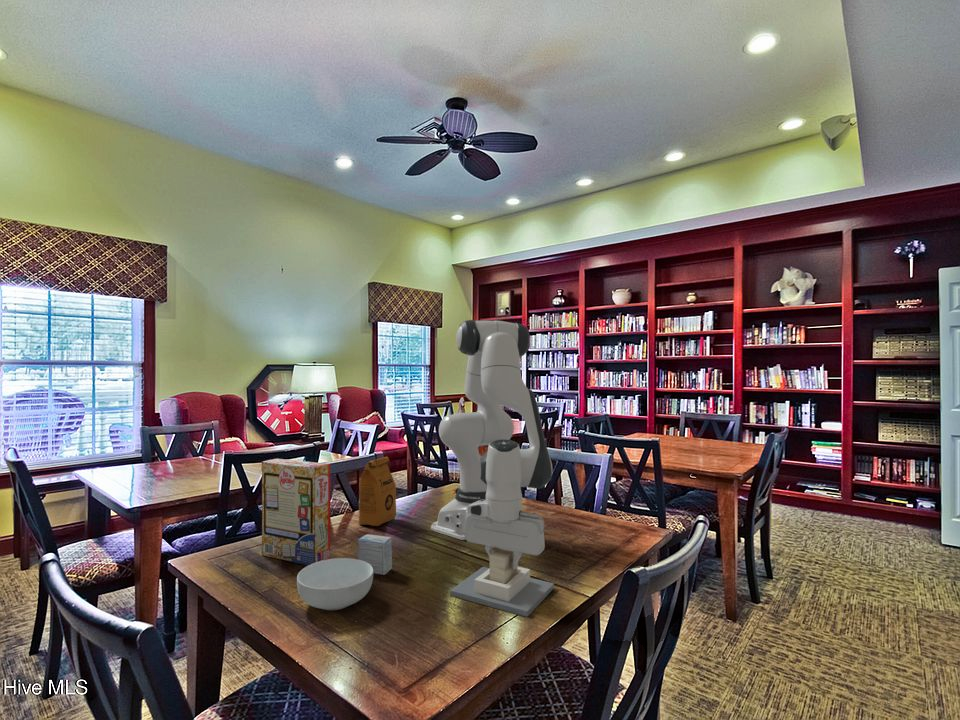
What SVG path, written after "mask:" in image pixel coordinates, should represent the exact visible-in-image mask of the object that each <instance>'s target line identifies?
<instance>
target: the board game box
mask: <svg viewBox="0 0 960 720" xmlns="http://www.w3.org/2000/svg"><path fill="white" fill-rule="evenodd" d="M261 556H263V557H264V556H265V557H270V558H274V559H278V560H282V561H288V562H292V563H295V564H296V563H297V564H301V565H306V566H309V565H311V564H313V563H316V562H319V561H323V560H328V559H331V463H324V462H323V463H322V462H314V461H313V462H312V461H304V460H296V459H295V460H293V459H286V458H285V459H283V458H273V459H267V460H263V461H261Z"/></svg>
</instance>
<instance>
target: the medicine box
mask: <svg viewBox="0 0 960 720" xmlns="http://www.w3.org/2000/svg"><path fill="white" fill-rule="evenodd" d="M392 540H393V539H392V537H391V536H386V535H385V536H384V535H379V534H378V535H377V534H369V533H368V534H365V535H363V536H360V538H358V540H357V542H358V545H357V546H358V547H357V548H358V549H357V553H358V554H357V557H358V558H357V559H358V560H362V561H365V562H367V563H369V564H370V565H371V566H372V568H373V575H374V574H375V575H382V576H384V575H386V574H388V573H389V572H390V571H391V570H393V554H392V553H393V552H392V551H393V550H392V549H393V545H392V542H393V541H392Z"/></svg>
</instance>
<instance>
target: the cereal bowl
mask: <svg viewBox="0 0 960 720" xmlns="http://www.w3.org/2000/svg"><path fill="white" fill-rule="evenodd" d="M373 581H374V573H373V568H372V566H371V565H370V564H369V563H367V562H365V561H362V560H358V558H350V557H339V558H330V559H328V560H323V561H319V562H316V563H313V564H311V565H306V566H305V567H304V568H302V569H301V570H300V571H299V572H298V573H297V576H296V588H297V592H298V596H299V597H300V598H301V600H302V601H303V603H305V604H306V605H308V606H311V607H313V608H317V609H320V610H321V609H322V610H326V611H337V610H338V611H339V610H343V609H345V608H347V607H349V606H351V605H353V604H357V603H358V602H359V601H360V600H362V599H364V597H366V596H367V594H368V593H369V591H370V590H371V587H372V584H373Z"/></svg>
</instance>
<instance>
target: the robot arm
mask: <svg viewBox="0 0 960 720" xmlns="http://www.w3.org/2000/svg"><path fill="white" fill-rule="evenodd" d="M455 337H456V339H455V340H456V341H455V342H456V345H457V348H458V350H459V351H460V352H461V354H463V355H466V356H468V358H467V364H466V369H465V381H464V389H463V390H464V394H465V396H466V398H467V399H468V400H469V401H471V403H472V402H473V403H475V404H476V405H477V411H475V412H474V411H472V412H457V413H452V414H448V415H445V416H444V417H443V418H442V419H441V420H440V423H439V426H438V434H439V438H440V440H441V442H442V443H443V445H445V446H446V447H447V448H449V450H451V451H452V452H453V455H454V456H455V457H456V460H457V463H458V469H459V470H458V471H459V486H458V487H456V489H453V490H452V495H454V494H455V496H454V498H453V499H452V500H451V501H449V502H448V503H447V504H445V505H444V506H443V507H441V508H440V510H439V512H438V516H437V521H434V522H433V523H432V524H431V525H430V530H431V531H433V532H435V533H439V534H441V535H445V536H449V537H452V538H454V539H458V540H461V541H467V542H469V543H471V544H472V543H473V544H477V545H483V546H485V547H484V550H485V552H486V554H487V556H488V557H489V558H490V555H491V554H492V553H493V552H495V551H494V549H493V548H497V549H499V548H501V549H506V550H511V551H514V555H515V556H516V557H515V558H514V559H512V560H511V561H510V568H511V569H517V568H518V567H519V560H520V558H521V557H522V556H523V554H526V555H531V556H539V555H541V553H543V551H544V550H545V547H546V545H545V542H546V541H545V534H544V531H545V521H544V519H543V518H542V517H541V516H540V515H539V514H538V513H535V512H534V513H533V512H529V511H523V494H522V489H521V488H530V489H532V488H533V489H539V490H540V489H542V488H544V487H545V486H546V485H547V484H549V482H550V481H551V480H552V477H553V463H552V460H551V457H550V454H549V451H548V447H547V443H546V442H547V441H546V439H545V434H544V430H543V425H542V420H541V415H540V411H539V407H538V403H537V400H536V395H535V393H534V392H533V390H532V389H530V388H528V387H527V386H526V384H525V383H524V380H523V378H522V377H523V376H522V372H521V371H522V370H521V358H522V357H523V356H524V355H526V354H527V352H528V350H529V347H530V345H531V344H530V343H531V337H530V332H529V329H528V328H527V326H526V325H525V324H522V323H518V322H510V321H509V322H508V321H504V320H475V319H469V320H464V321H462V322H461V323H460V324H459V327H458V329H457V331H456V336H455ZM502 406H503V407H505V408H508V409H510V410H513V411H515V412H517V413H518V414H519V415H520V416H521V417H522V418H523V420H524V424H525V427H526V432H527V438H528V441H529V447H528V448H520V444H519V443H518V442H516V441H515V440H511V438H512V437H513V434H514V429H515V427H514V421H513V419H512V417H511V416H510V415H509V414H508V413H507V412H506V411H505V410H504V409H503V407H502ZM480 446H488V447H487V451H486V452H485V453H483V454H482V455H481V454H480V452H479V447H480Z"/></svg>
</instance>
